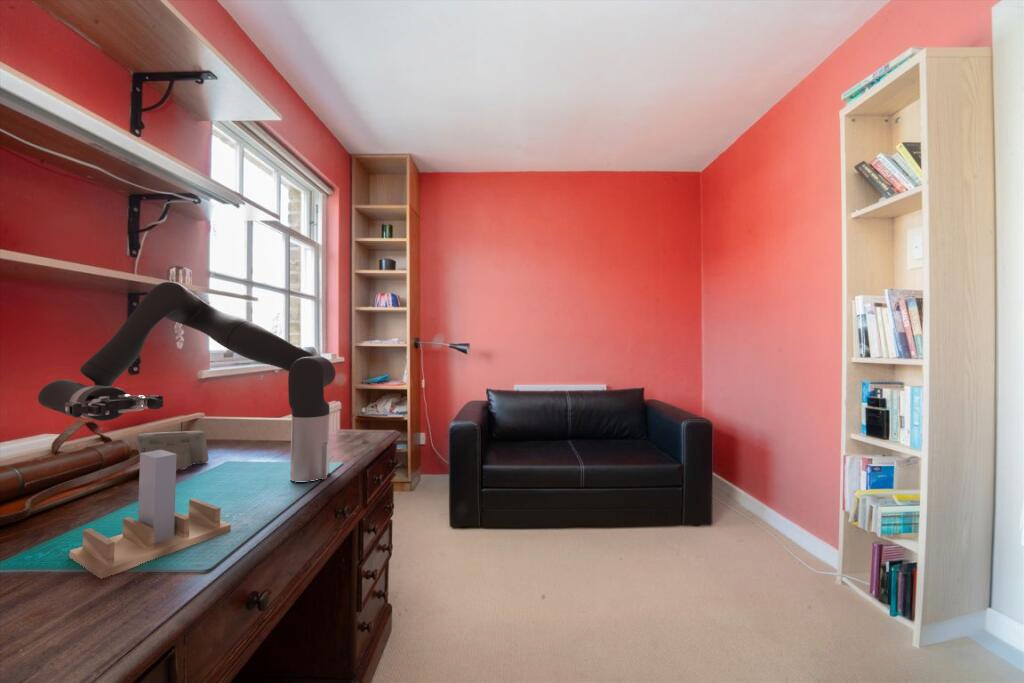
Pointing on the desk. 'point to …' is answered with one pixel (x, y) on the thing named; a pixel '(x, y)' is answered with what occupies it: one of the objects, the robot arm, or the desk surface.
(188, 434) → the grey basket
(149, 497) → the grey tall block
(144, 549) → the rack
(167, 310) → the robot arm
